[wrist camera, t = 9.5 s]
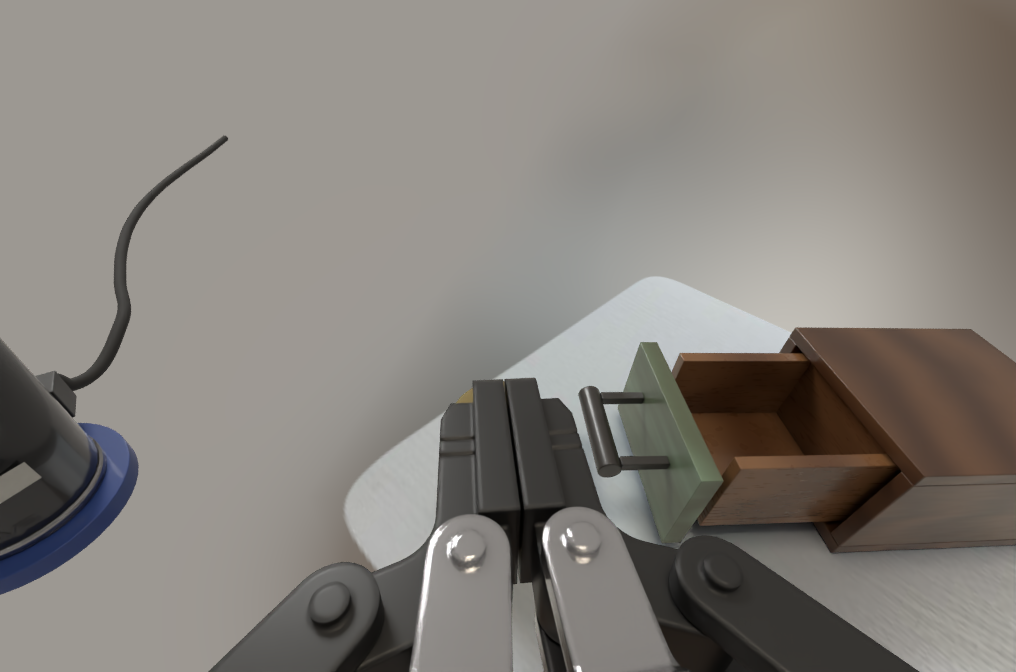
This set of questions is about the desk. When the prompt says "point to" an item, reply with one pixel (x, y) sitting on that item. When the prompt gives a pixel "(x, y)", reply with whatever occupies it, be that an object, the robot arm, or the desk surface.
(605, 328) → the desk surface
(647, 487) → the drawer
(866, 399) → the cabinet
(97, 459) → the robot arm
